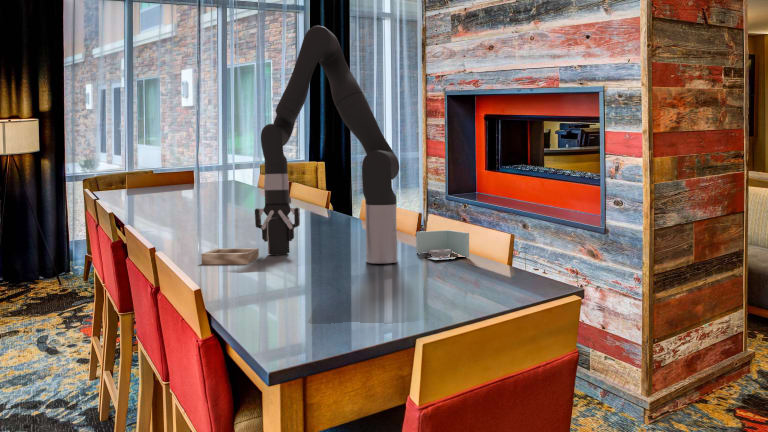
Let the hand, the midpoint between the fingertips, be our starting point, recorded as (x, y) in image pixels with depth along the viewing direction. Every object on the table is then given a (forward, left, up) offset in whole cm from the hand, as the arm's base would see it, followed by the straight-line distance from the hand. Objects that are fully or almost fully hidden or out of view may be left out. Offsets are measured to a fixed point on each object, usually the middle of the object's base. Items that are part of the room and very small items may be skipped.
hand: (278, 241), depth 194 cm
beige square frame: (+12, +10, -5) cm, 16 cm away
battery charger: (0, 0, -4) cm, 4 cm away
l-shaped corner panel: (-51, -1, -5) cm, 52 cm away
